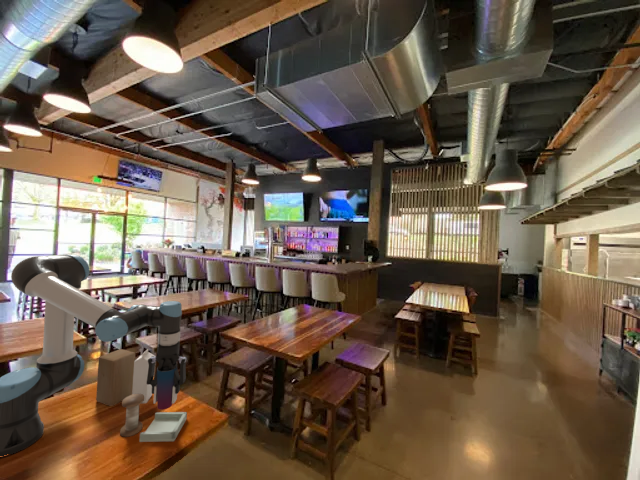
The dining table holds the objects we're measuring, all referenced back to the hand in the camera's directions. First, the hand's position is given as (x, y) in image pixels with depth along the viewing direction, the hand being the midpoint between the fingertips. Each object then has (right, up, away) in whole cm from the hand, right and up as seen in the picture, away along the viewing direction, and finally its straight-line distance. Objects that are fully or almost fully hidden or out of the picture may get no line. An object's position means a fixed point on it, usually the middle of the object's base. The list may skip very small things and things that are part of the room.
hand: (165, 401), depth 103 cm
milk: (-20, -10, +17) cm, 28 cm away
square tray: (0, -11, 0) cm, 11 cm away
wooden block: (-32, -9, +17) cm, 38 cm away
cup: (0, -2, 0) cm, 2 cm away
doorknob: (-12, -10, -1) cm, 16 cm away
